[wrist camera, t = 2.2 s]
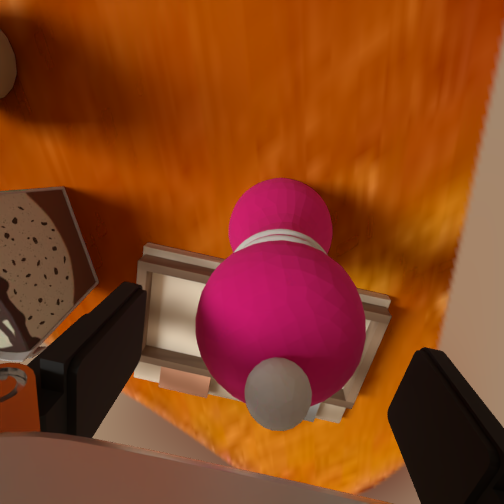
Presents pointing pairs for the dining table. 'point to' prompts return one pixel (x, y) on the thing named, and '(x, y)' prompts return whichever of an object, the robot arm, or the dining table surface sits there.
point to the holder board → (184, 338)
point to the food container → (39, 268)
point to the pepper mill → (280, 307)
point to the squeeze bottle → (6, 66)
